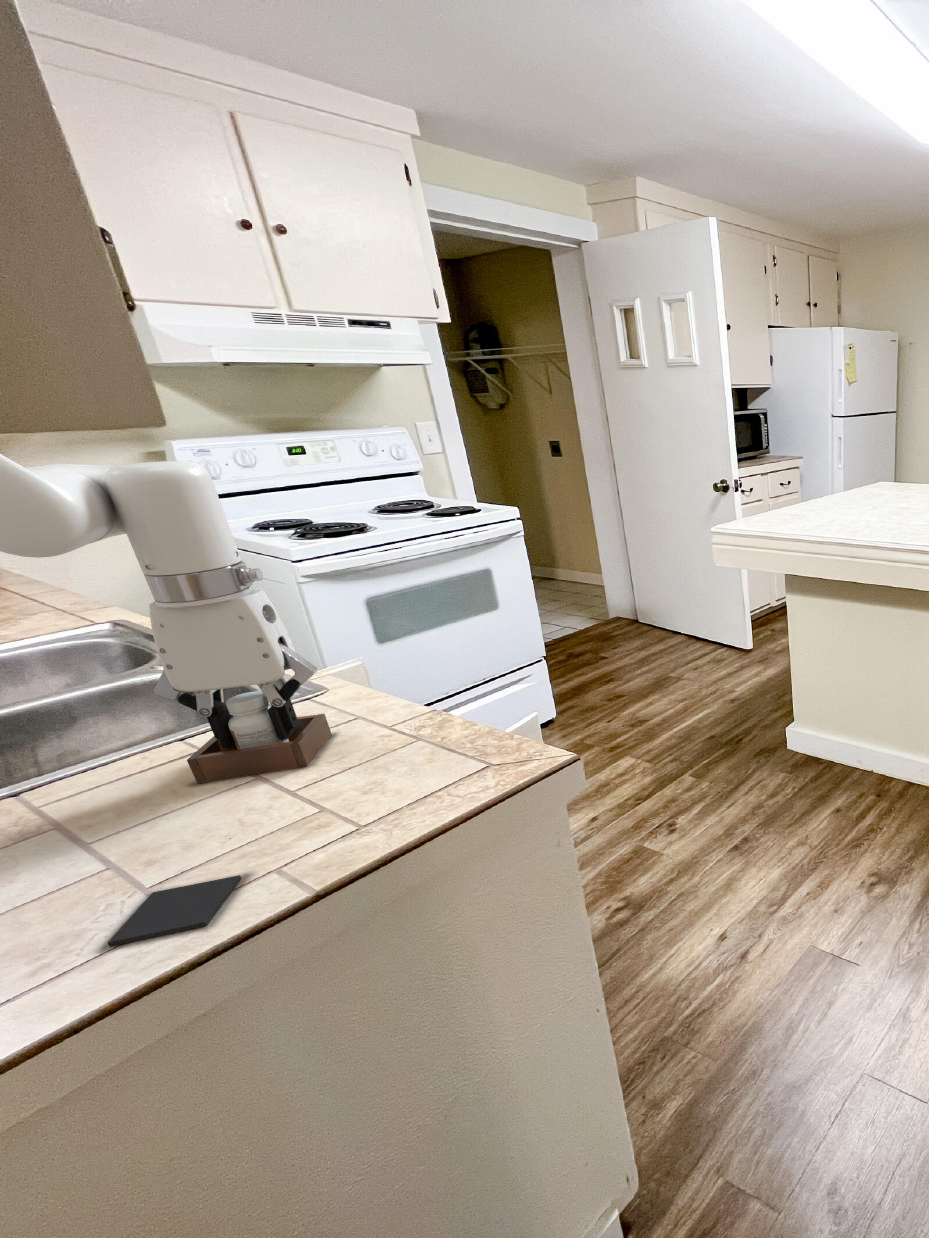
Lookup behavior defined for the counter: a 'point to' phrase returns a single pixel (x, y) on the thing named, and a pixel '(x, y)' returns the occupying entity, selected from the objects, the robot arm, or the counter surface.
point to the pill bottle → (251, 721)
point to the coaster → (176, 910)
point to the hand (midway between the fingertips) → (260, 737)
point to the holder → (261, 753)
